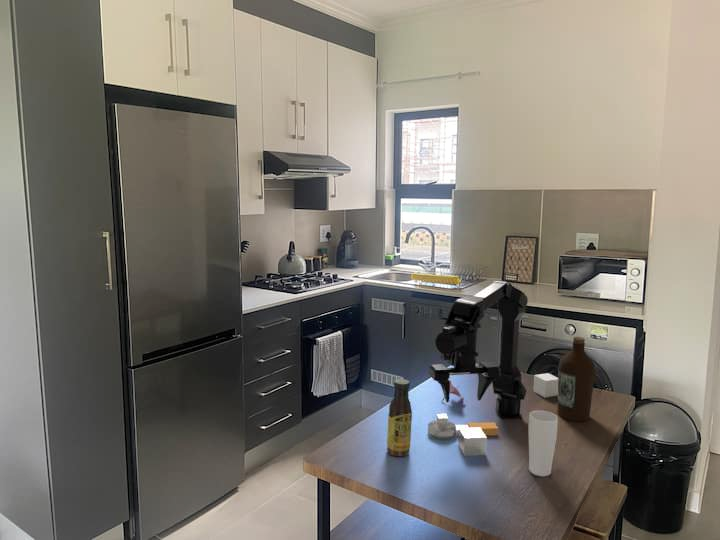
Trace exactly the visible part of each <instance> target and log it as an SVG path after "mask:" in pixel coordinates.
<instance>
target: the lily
mask: <svg viewBox="0 0 720 540" xmlns="http://www.w3.org/2000/svg"><path fill="white" fill-rule="evenodd" d="M448 380H449V381H450V394H453V395H455V396H457V397H459V398H460V400H461V401H462V402H463V404H464V405H466V404H465V402H464V399H463V395H462V394H461V392H460V390H459V389H460V388H461V386H460V385H458V386H456V387H455V386H454V385H453V384H452V380H451V378H450V376H449V379H448ZM444 400H445V397H443V398H442V399H441V403H443V401H444Z"/></svg>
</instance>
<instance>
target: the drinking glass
mask: <svg viewBox="0 0 720 540" xmlns="http://www.w3.org/2000/svg"><path fill="white" fill-rule="evenodd" d="M558 419H559V417H558V416H557V415H556V413H553V412H550V411H548V410H543V409H542V410H541V409H539V410H532V411H530V413H529V417H528V458H529V459H528V461H529V462H528V470H529V471H530V473H531V474H533V475H534V476H536V477H537V476H538V477H543V478H544V477H548V476H550V475H551V473H552V469H553V468H552V467H553V460H554V455H555V448H556V441H557V436H558V427H559V426H558V424H559V423H558V421H559V420H558Z"/></svg>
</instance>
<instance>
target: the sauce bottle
mask: <svg viewBox="0 0 720 540" xmlns="http://www.w3.org/2000/svg"><path fill="white" fill-rule="evenodd" d="M393 386H394V394H393V399H391V400H390V403H389V405H388V406H389V407H388V410H389V411H388V417H387V438H386V439H387V440H386V450H387V453H388V454H389V455H390V456H393V457H394V456H395V457H405V456H407V455H408V454H409V453H410V448H411V438H412V435H411V434H412V420H413V418H412V417H413V412H412V405H411V401H410V399H409V396H410V395H409V389H410V381H409V380H407V379H403V378H399V379H398V378H397V379H395V380H394V382H393Z"/></svg>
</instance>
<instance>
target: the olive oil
mask: <svg viewBox="0 0 720 540" xmlns="http://www.w3.org/2000/svg"><path fill="white" fill-rule="evenodd" d="M585 340H586V339H585V338H584V337H581V336H574V337H573V342H572V348H571V350H570V351H569V352H567V353H566V354H565V355H563V357H562V358H560V361H559V363H558V368H557V371H558V372H557V373H558V374H557V378H558V395H557V408H556V409H557V410H556V412H557V415H558V416H559V417H561V418H562V419H565V420H568V421H571V422H586V421H588V420H589V419H590V417H591V416H590V415H591V407H592V400H593V399H592V397H593V391H594V385H595V384H594V383H595V378H596V365H595V363H594V361H593V360H592V358H591V357H590V355H588V354H587V353H586V351H585V347H586V346H585Z"/></svg>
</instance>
